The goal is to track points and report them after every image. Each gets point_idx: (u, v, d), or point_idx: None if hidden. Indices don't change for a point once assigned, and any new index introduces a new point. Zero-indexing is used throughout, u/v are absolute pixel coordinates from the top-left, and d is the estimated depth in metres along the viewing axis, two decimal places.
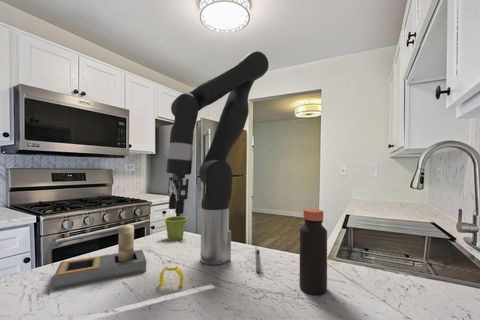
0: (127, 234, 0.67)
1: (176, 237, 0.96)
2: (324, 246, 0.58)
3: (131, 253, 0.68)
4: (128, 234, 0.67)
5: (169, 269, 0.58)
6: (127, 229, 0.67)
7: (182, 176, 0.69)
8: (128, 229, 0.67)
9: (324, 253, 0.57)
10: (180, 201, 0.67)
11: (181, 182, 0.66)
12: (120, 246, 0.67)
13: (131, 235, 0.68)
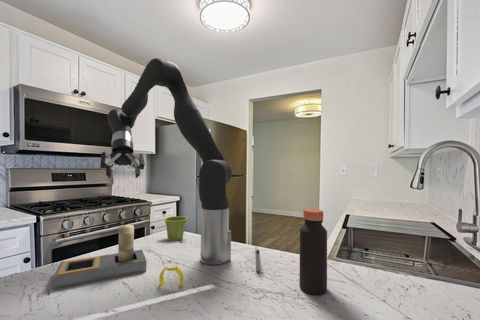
0: (127, 234, 0.67)
1: (176, 237, 0.96)
2: (324, 246, 0.58)
3: (131, 253, 0.68)
4: (128, 234, 0.67)
5: (169, 269, 0.58)
6: (127, 229, 0.67)
7: None
8: (128, 229, 0.67)
9: (324, 253, 0.57)
10: (105, 168, 0.81)
11: None
12: (120, 246, 0.67)
13: (131, 235, 0.68)
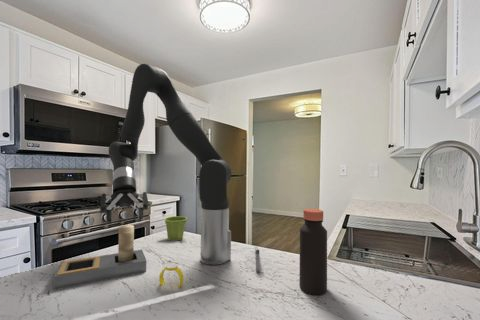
0: (127, 234, 0.67)
1: (176, 237, 0.96)
2: (324, 246, 0.58)
3: (131, 253, 0.68)
4: (128, 234, 0.67)
5: (169, 269, 0.58)
6: (127, 229, 0.67)
7: (112, 194, 0.79)
8: (128, 229, 0.67)
9: (324, 253, 0.57)
10: (106, 213, 0.73)
11: None
12: (120, 246, 0.67)
13: (131, 235, 0.68)
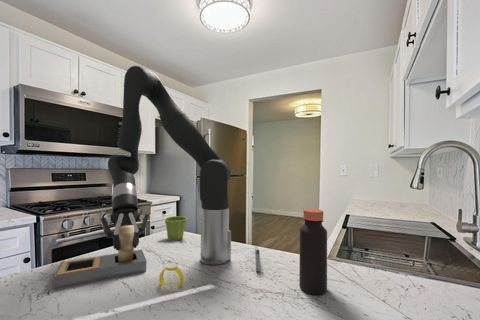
0: (127, 234, 0.67)
1: (176, 237, 0.96)
2: (324, 246, 0.58)
3: (131, 253, 0.68)
4: (128, 234, 0.67)
5: (169, 269, 0.58)
6: (127, 229, 0.67)
7: (112, 214, 0.72)
8: (128, 229, 0.67)
9: (324, 253, 0.57)
10: (113, 238, 0.68)
11: (101, 225, 0.70)
12: (120, 246, 0.67)
13: (131, 235, 0.68)
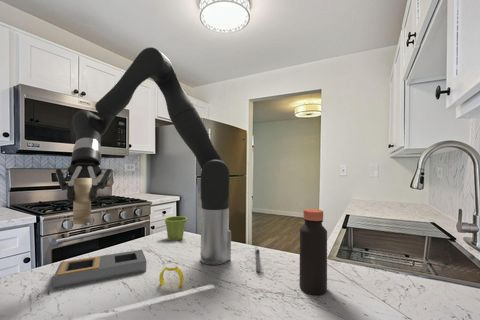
0: (82, 185, 0.62)
1: (176, 237, 0.96)
2: (324, 246, 0.58)
3: (87, 206, 0.63)
4: (84, 185, 0.62)
5: (169, 269, 0.58)
6: (82, 179, 0.62)
7: None
8: (84, 180, 0.62)
9: (324, 253, 0.57)
10: (67, 189, 0.63)
11: (57, 177, 0.65)
12: (75, 198, 0.62)
13: (87, 187, 0.63)
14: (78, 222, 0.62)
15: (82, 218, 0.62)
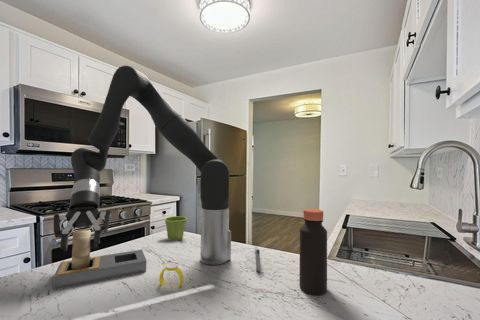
0: (81, 240, 0.61)
1: (176, 237, 0.96)
2: (324, 246, 0.58)
3: (86, 260, 0.63)
4: (83, 240, 0.62)
5: (169, 269, 0.58)
6: (81, 234, 0.62)
7: (68, 212, 0.67)
8: (83, 234, 0.62)
9: (324, 253, 0.57)
10: None
11: None
12: (73, 253, 0.61)
13: (86, 241, 0.62)
14: None
15: None
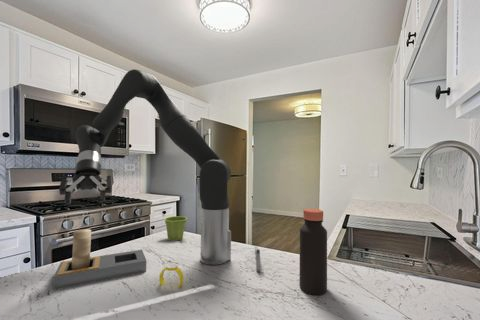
0: (81, 240, 0.62)
1: (176, 237, 0.96)
2: (324, 246, 0.58)
3: (86, 260, 0.63)
4: (83, 239, 0.62)
5: (169, 269, 0.58)
6: (82, 234, 0.62)
7: (74, 176, 0.78)
8: (83, 234, 0.62)
9: (324, 253, 0.57)
10: None
11: None
12: (74, 252, 0.61)
13: (86, 241, 0.63)
14: None
15: None
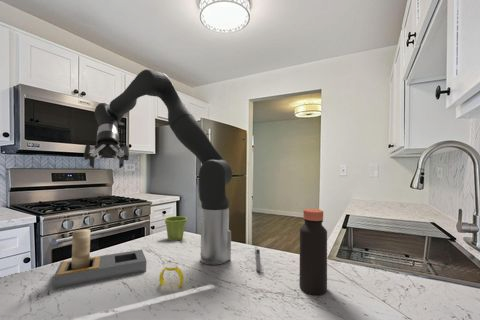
0: (81, 240, 0.62)
1: (176, 237, 0.96)
2: (324, 246, 0.58)
3: (86, 260, 0.63)
4: (82, 239, 0.62)
5: (169, 269, 0.58)
6: (81, 234, 0.62)
7: (96, 145, 0.88)
8: (82, 234, 0.62)
9: (324, 253, 0.57)
10: (89, 159, 0.83)
11: None
12: (73, 252, 0.61)
13: (86, 240, 0.63)
14: None
15: None
